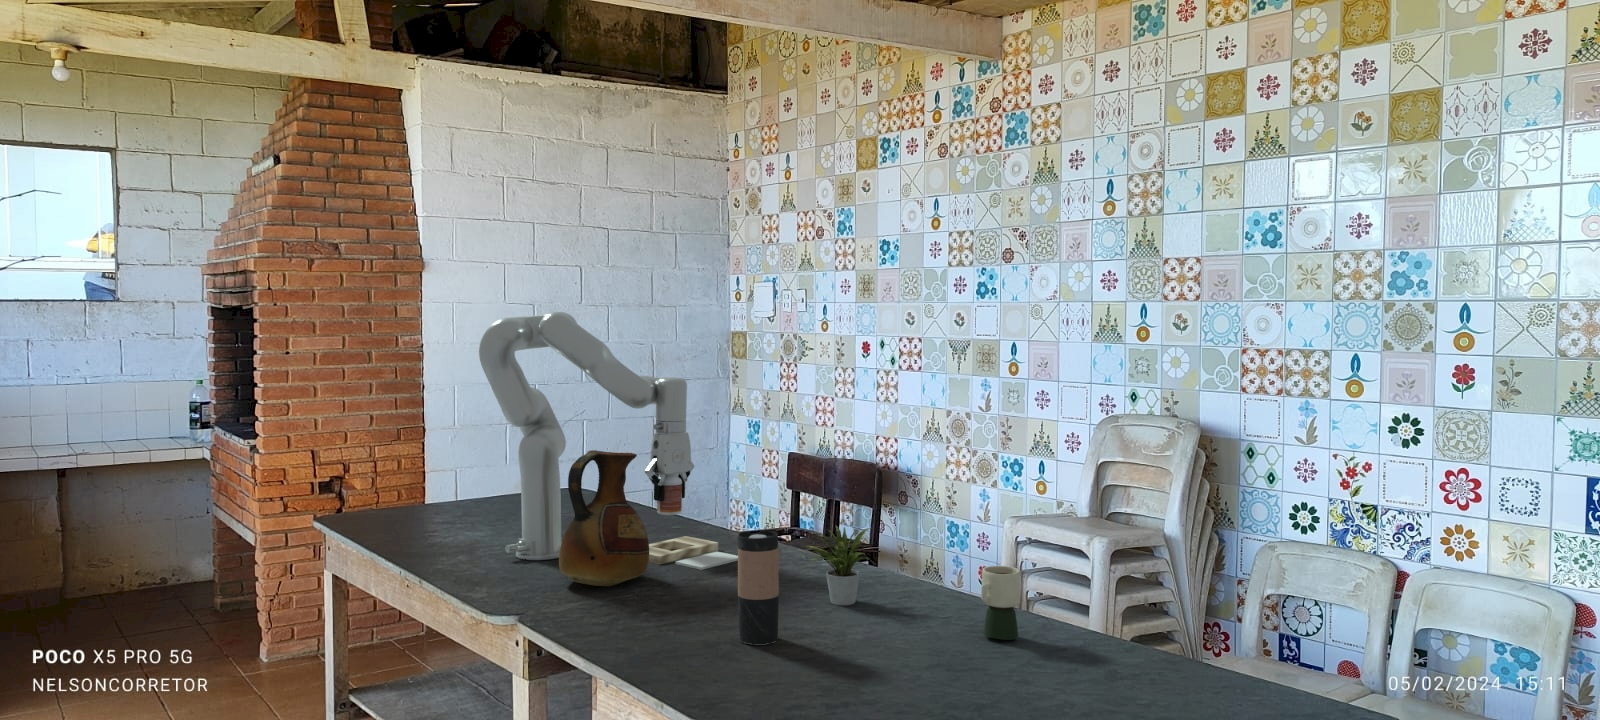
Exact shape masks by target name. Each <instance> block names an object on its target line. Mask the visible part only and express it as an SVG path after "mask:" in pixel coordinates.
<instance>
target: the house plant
mask: <svg viewBox="0 0 1600 720" xmlns="http://www.w3.org/2000/svg"><path fill="white" fill-rule="evenodd" d="M871 529H872V527H868V528H865V529H857V530H855V531H854V532H853V533H852V534H851V536H850V538H849V540H848V536H847V531H846V528H845V526H844V527H843V531H841V529H840V528H839V526H837V525H835V530H836V535H835V534H834V533H833V532H832V531H831V530H829V529H828V528H826V530H827V531H828V532H829V533H830V534H831V535H832V538H833V539H834V541H835V543H836V545H835V544H834V542H833V541H832V540H831V539H830V538H829V537H828V536H827V535H825V534H822V533H821V532H820V533H819V532H816V531H813V533H814V534H818V536H817V538H818V539H821V541H822V542H824V544H826V545H827V547H828V548H829V549H830V550H831V551H832V552H829V551H827V550H825V549H823V548H820V547H817V546H812V545H806V547H807V548H808V549H811V550H813V551H812V553H817V554H818V555H819V556H816V557H815V558H813V559H812V560H811V562H813V561H815V560H819V559H824V560H825V561H826V562H827V563H828V565H830V566H831V567H832V568H833V569H829V570H826V573H825V574H826V582H827V587H828V593H829V598H830V599H829V600H830V603H831V604H832V605H836V606H851V605H853V604H855V602H856V601H857V595H858V594H857V593H858V588H859V587H858V586H859V581H860V574H861V572H860V571H859V570H856V569H853V567H854V566H855V565H856V563H857V562H860V561H861V560H863V559H866V560H868V561H869V558H868V557H862V556H861V557H859V556H860V555H862V554H863V555H865V556H866V554H865V552H857V551H858V549H859V548H860V546H862V544H863V542H864V541H865V540H866V538H864V539H863V541H862V540H861V539H862V538H863V537H864V535H865V534H866V532H867V531H868V530H871ZM859 531H860V532H859ZM841 532H842V533H841ZM857 532H859V533H858V534H857V535H856V536H855V538H854V540H853V543H852V546H851V547H850V551H849V546H850V544H851V541H852V539H853V537H854V535H855V534H856V533H857ZM820 536H821V537H820ZM823 539H824V540H823ZM832 547H833V548H832ZM834 550H835V551H834ZM848 551H849V552H848Z"/></svg>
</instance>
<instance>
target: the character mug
mask: <svg viewBox="0 0 1600 720" xmlns="http://www.w3.org/2000/svg"><path fill="white" fill-rule="evenodd" d="M980 591H981V592H980V593H981V594H980V595H981V596H980V598H981V601H982V602H983V603H984V604H985V605H987V606H988V607H987V610H986V614H985V620H984V621H985V622H984V629H983V630H984V631H983V636H984V637H986V638H990V639H991V638H992V639H994V640H995V641H998V640H1002V641H1003V640H1004V641H1005V640H1007V641H1009V640H1010V641H1012V640H1015V639H1017V638H1018V636H1019V629H1018V622H1017V615H1016V614H1017V613H1016V610H1015V608H1014V607H1017V606H1019V605H1020V603H1021V570H1020V569H1019V568H1018V567H1014V566H1013V567H1012V566H1008V565H1006V566H1005V565H991V566H990V565H989V566H985V567H983V568H982V571H981V590H980Z"/></svg>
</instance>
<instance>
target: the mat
mask: <svg viewBox="0 0 1600 720" xmlns="http://www.w3.org/2000/svg"><path fill="white" fill-rule="evenodd" d="M674 562H675V565H679V566H683V567H688V568H692V569H697V570H700V571H702V570H706V569H710V568H715V567H718V566H722V565H725V564H726V565H727V564H729V563H733V562H734V563H735V562H738V555H736V554H731V553H726V552H722V551H714V552H709V553H705V554H701V555H697V556H693V557H689V558H685V559H681V560H676V561H674Z"/></svg>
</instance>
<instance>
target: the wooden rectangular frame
mask: <svg viewBox="0 0 1600 720" xmlns="http://www.w3.org/2000/svg"><path fill="white" fill-rule="evenodd" d="M713 552H719V542H718V541H712V540H709V539H703V538H698V537H693V536H692V537H691V536H687V535H684V536H679V537H676V538H672V539H666V540H662V541H656V542H653V543H649V562H648V564H649V563H650V564H655V565H660V566H661V565H663V564H667V563H671V562H676V561H680V560H684V559H688V558H692V557H696V556H700V555H704V554H708V553H713Z"/></svg>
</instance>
